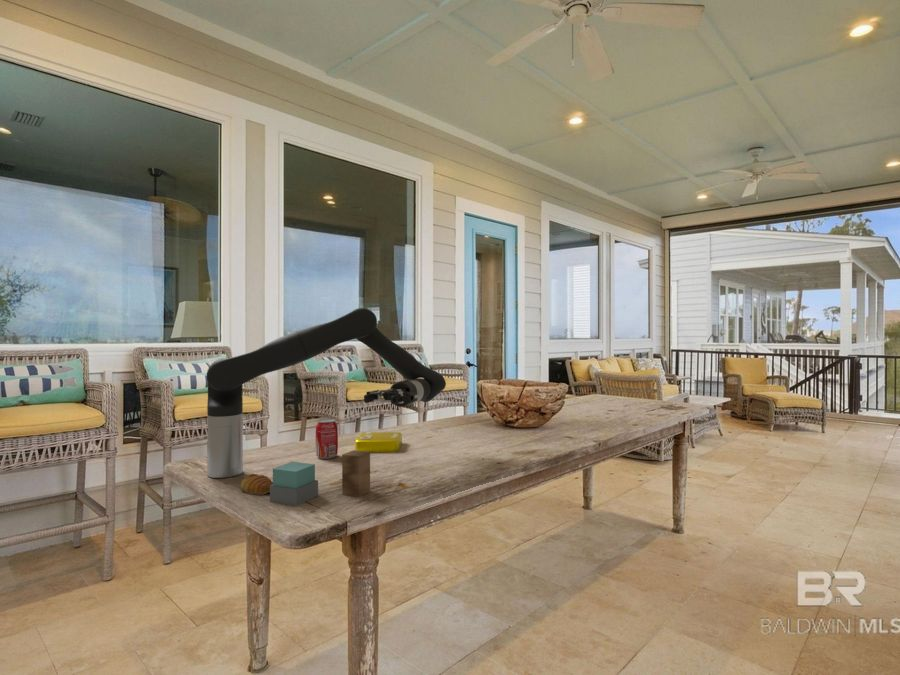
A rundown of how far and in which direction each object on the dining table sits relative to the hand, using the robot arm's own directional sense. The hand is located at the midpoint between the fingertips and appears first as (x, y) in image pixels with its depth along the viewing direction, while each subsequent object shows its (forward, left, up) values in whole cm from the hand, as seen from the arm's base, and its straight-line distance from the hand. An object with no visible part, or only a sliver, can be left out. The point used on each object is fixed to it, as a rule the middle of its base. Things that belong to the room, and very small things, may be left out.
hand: (378, 399), depth 134 cm
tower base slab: (-7, -22, -22) cm, 32 cm away
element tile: (-29, +29, -23) cm, 46 cm away
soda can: (-33, +9, -22) cm, 40 cm away
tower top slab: (-7, -22, -18) cm, 30 cm away
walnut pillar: (+2, -10, -22) cm, 25 cm away
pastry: (-20, -24, -23) cm, 38 cm away
